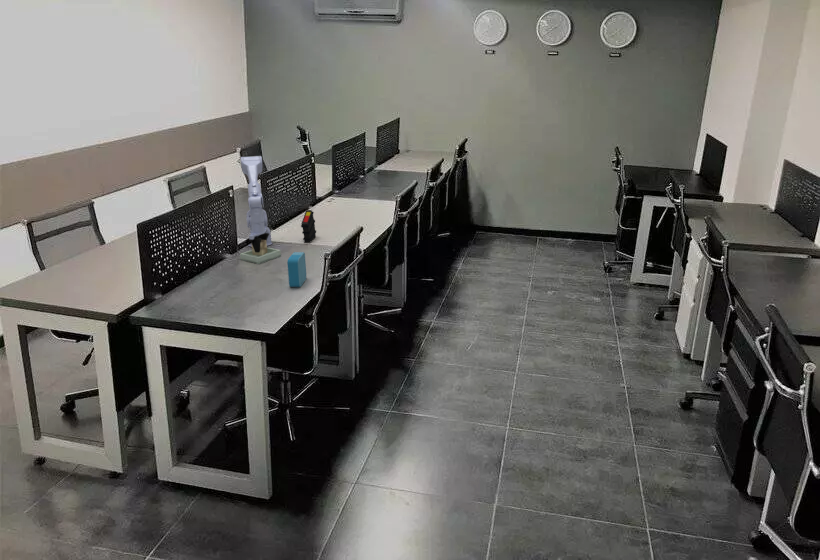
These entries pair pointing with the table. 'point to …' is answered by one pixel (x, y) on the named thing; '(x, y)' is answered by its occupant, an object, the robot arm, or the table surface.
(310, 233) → the black ridged block
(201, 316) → the table surface
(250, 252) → the sage tray
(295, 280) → the data package
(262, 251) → the birch block
